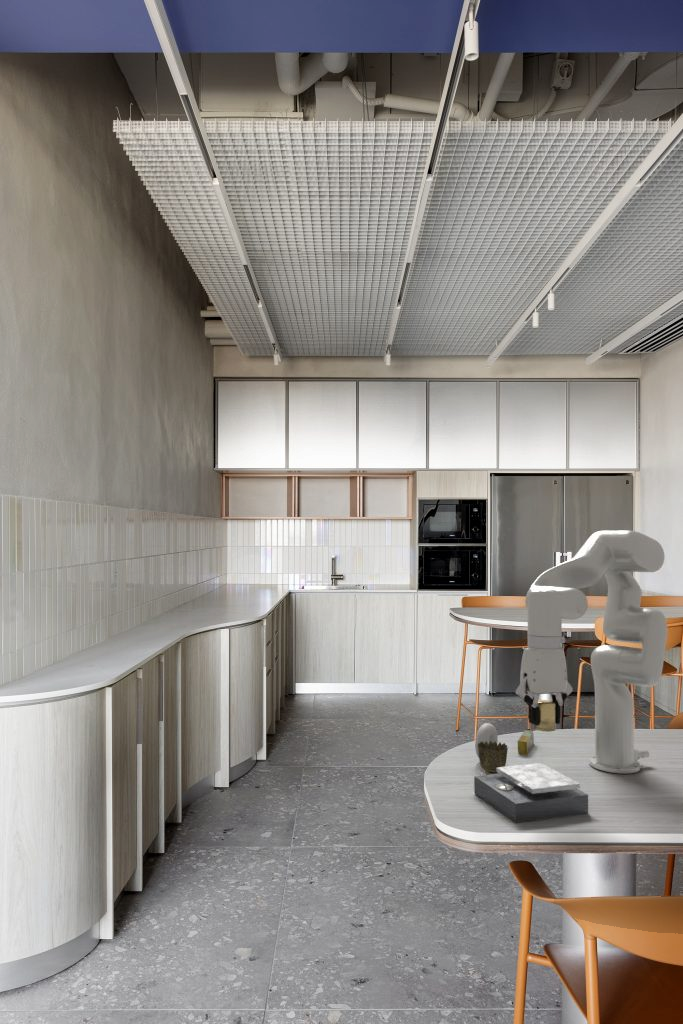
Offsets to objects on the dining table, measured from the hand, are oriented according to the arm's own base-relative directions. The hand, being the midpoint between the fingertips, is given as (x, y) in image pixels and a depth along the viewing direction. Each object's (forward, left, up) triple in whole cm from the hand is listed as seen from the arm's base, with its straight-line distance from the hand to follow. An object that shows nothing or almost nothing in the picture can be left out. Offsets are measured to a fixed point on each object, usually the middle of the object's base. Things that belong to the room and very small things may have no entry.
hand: (544, 722), depth 161 cm
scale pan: (+2, 0, -13) cm, 13 cm away
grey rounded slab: (-2, -30, -18) cm, 35 cm away
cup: (+3, -18, -18) cm, 26 cm away
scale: (+4, 0, -18) cm, 18 cm away
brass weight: (0, 0, -1) cm, 1 cm away
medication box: (-18, -37, -18) cm, 45 cm away
